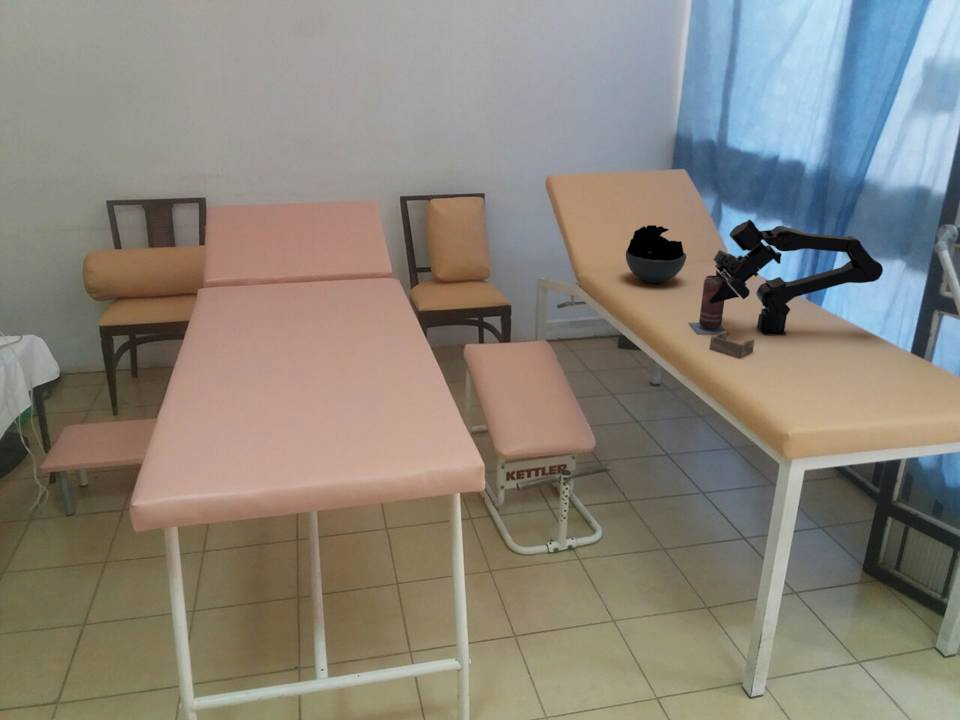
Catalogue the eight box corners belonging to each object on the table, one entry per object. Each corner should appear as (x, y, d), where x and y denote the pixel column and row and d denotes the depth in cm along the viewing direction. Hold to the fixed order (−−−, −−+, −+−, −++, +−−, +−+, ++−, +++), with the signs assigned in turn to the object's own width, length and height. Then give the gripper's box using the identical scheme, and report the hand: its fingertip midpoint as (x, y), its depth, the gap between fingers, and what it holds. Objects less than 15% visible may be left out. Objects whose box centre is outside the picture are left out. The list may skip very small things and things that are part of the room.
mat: (718, 323, 228) (718, 322, 228) (729, 334, 219) (729, 333, 219) (688, 323, 227) (688, 322, 227) (697, 334, 219) (697, 333, 219)
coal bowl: (648, 270, 279) (653, 218, 271) (695, 283, 264) (702, 228, 257) (611, 280, 267) (615, 225, 260) (657, 294, 253) (663, 237, 245)
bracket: (723, 342, 213) (724, 330, 212) (752, 351, 208) (754, 339, 206) (709, 348, 209) (711, 336, 208) (739, 358, 203) (741, 345, 202)
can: (694, 322, 225) (699, 275, 219) (713, 320, 226) (719, 274, 221) (705, 329, 219) (711, 281, 214) (725, 327, 221) (731, 280, 215)
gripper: (726, 233, 222) (683, 270, 227) (743, 250, 205) (696, 289, 210) (751, 261, 225) (707, 296, 229) (769, 279, 207) (722, 318, 212)
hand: (707, 299), depth 220 cm, fingers closed on can, 5 cm apart
